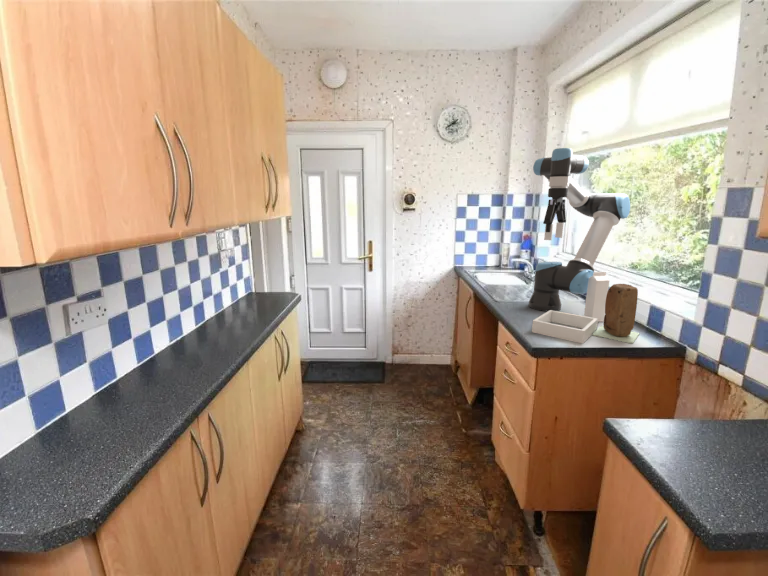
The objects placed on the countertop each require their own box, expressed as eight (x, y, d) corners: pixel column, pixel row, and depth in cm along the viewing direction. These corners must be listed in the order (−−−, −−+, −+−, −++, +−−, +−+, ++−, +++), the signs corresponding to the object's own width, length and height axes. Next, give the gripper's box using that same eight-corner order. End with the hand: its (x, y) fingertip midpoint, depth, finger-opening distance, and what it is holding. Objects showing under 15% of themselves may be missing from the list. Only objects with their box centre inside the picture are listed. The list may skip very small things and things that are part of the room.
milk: (604, 321, 173) (611, 273, 168) (591, 322, 173) (597, 273, 168) (595, 317, 179) (602, 270, 174) (583, 317, 179) (589, 270, 174)
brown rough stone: (634, 337, 152) (641, 287, 147) (615, 338, 151) (623, 288, 147) (616, 328, 162) (622, 281, 158) (598, 329, 162) (605, 282, 157)
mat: (600, 326, 166) (601, 325, 166) (639, 334, 157) (639, 332, 157) (592, 335, 156) (592, 334, 156) (632, 343, 147) (632, 342, 147)
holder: (549, 320, 175) (550, 309, 174) (596, 330, 162) (598, 318, 161) (531, 332, 160) (532, 320, 159) (582, 343, 147) (584, 331, 146)
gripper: (559, 188, 173) (554, 236, 178) (538, 187, 155) (533, 240, 160) (577, 188, 168) (571, 237, 173) (557, 186, 150) (552, 241, 155)
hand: (553, 238), depth 166 cm, fingers open, 13 cm apart
